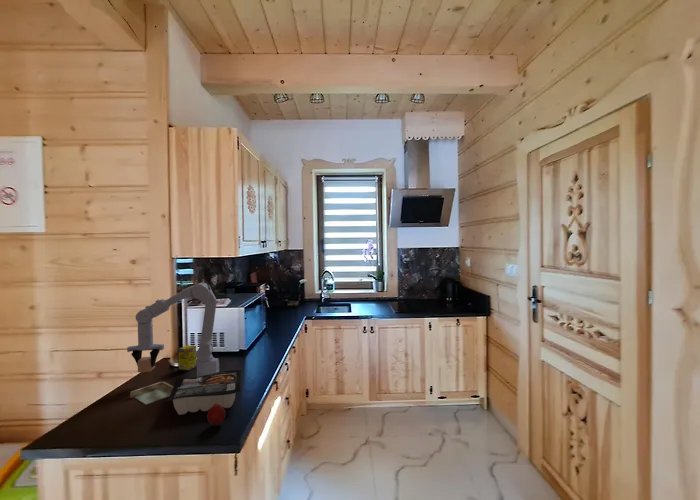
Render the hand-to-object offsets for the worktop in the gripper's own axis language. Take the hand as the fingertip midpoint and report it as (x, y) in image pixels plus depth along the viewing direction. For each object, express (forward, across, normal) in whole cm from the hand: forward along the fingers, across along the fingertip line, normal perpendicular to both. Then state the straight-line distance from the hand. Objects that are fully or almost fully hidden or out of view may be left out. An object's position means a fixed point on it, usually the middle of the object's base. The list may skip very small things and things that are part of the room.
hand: (146, 366), depth 152 cm
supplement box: (+8, -12, -17) cm, 22 cm away
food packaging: (+9, -31, +21) cm, 38 cm away
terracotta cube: (+1, 0, 0) cm, 1 cm away
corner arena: (+8, -8, +12) cm, 17 cm away
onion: (+8, -39, +41) cm, 57 cm away
